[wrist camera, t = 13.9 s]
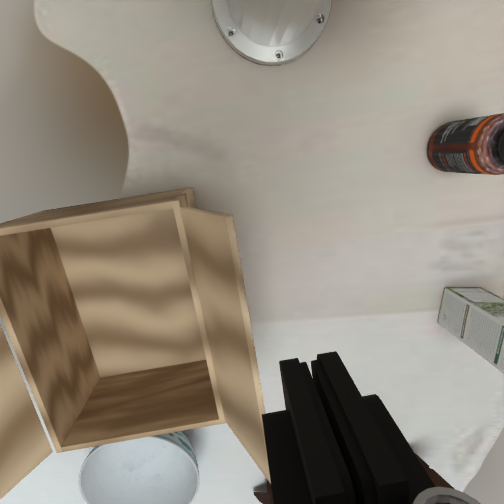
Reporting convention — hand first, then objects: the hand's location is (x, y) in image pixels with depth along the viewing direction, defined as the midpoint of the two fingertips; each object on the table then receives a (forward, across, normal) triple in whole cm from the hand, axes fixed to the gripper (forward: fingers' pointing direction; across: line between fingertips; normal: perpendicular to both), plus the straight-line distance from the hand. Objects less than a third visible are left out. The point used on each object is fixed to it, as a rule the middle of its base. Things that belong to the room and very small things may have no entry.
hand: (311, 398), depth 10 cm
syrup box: (+33, -28, +18) cm, 47 cm away
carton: (+33, +15, +8) cm, 37 cm away
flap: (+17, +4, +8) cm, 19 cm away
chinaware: (+33, +19, +31) cm, 49 cm away
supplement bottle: (+33, -26, -4) cm, 42 cm away
